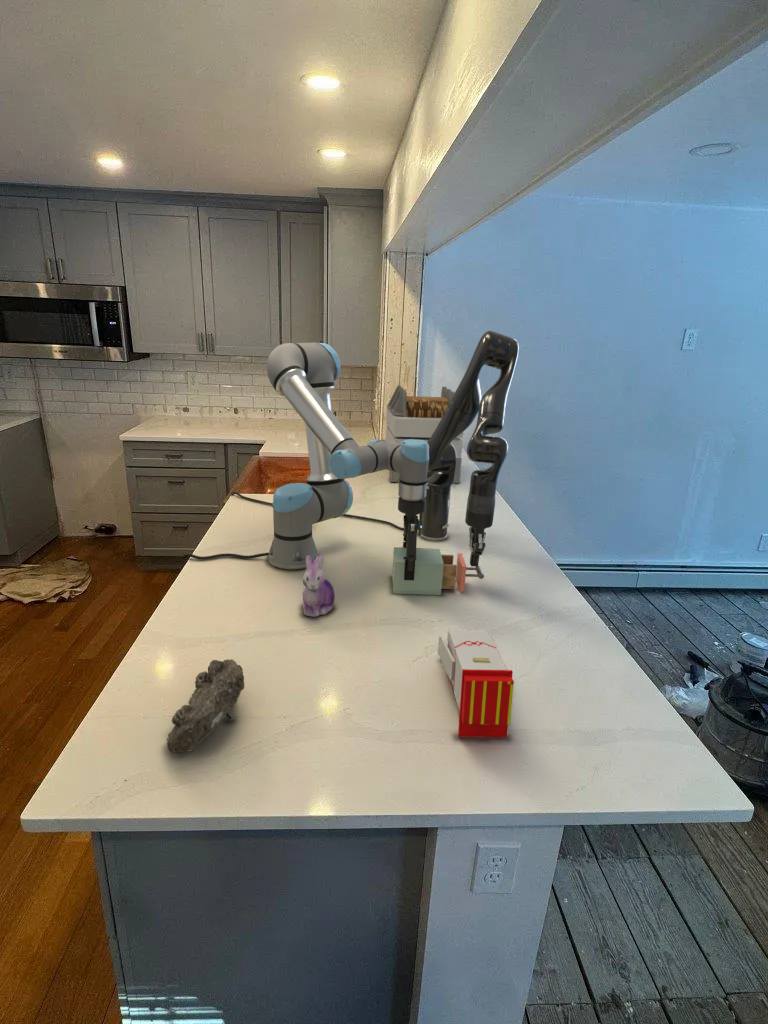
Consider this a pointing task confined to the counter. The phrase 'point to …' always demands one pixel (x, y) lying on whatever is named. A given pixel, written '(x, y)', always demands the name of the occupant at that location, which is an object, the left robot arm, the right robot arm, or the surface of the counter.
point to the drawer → (457, 572)
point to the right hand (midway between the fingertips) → (473, 565)
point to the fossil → (206, 705)
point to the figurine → (316, 589)
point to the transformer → (418, 421)
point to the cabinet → (418, 572)
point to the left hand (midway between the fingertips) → (407, 571)
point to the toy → (478, 682)
